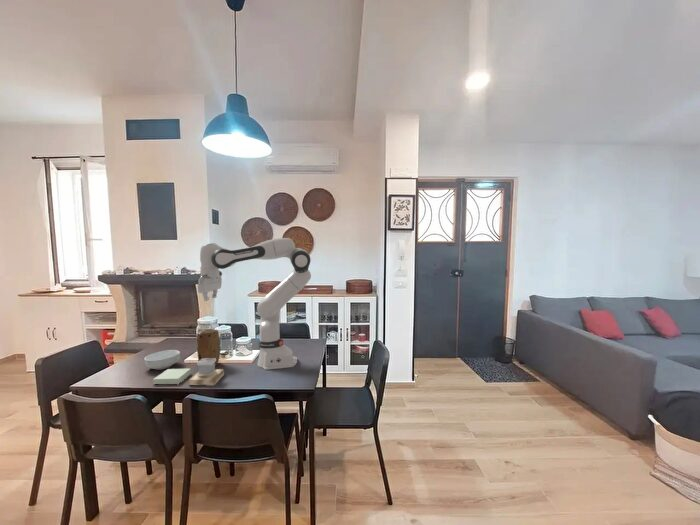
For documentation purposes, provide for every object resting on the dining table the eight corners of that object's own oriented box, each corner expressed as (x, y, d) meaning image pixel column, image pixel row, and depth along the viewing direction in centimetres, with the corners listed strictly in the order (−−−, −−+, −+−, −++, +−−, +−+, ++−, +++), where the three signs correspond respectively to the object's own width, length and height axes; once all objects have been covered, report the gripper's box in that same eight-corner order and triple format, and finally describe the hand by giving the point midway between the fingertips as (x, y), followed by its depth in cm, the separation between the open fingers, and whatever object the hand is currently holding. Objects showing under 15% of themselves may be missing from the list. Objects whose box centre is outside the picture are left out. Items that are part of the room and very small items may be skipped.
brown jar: (221, 362, 168) (220, 329, 167) (213, 367, 160) (212, 332, 159) (204, 362, 169) (203, 328, 168) (195, 367, 161) (194, 332, 161)
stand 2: (223, 374, 151) (223, 369, 151) (214, 385, 139) (214, 379, 139) (200, 375, 151) (200, 369, 151) (189, 386, 139) (188, 379, 139)
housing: (216, 371, 148) (216, 358, 147) (211, 376, 142) (211, 362, 142) (202, 372, 147) (202, 358, 147) (197, 376, 142) (196, 362, 142)
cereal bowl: (170, 359, 174) (170, 347, 174) (186, 364, 165) (185, 352, 165) (138, 369, 159) (138, 356, 159) (153, 375, 151) (153, 362, 151)
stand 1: (191, 374, 152) (190, 368, 152) (178, 384, 140) (178, 378, 140) (167, 374, 152) (167, 369, 152) (153, 385, 140) (153, 379, 140)
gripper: (206, 275, 144) (207, 302, 144) (223, 272, 164) (224, 296, 165) (193, 275, 144) (194, 302, 144) (212, 272, 164) (213, 296, 165)
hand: (210, 299), depth 155 cm, fingers open, 8 cm apart
